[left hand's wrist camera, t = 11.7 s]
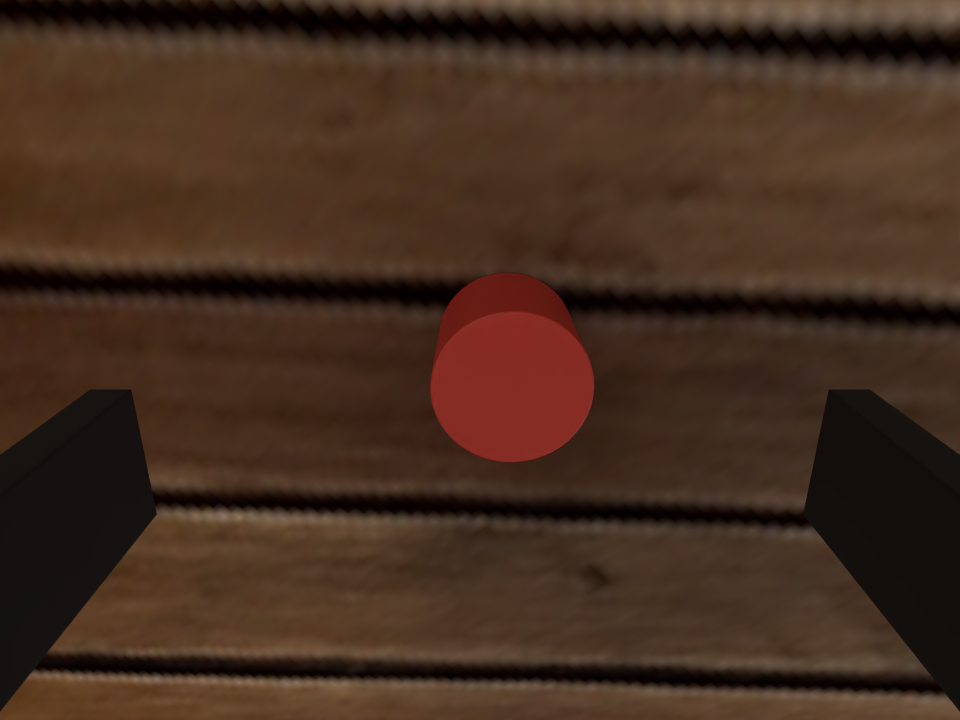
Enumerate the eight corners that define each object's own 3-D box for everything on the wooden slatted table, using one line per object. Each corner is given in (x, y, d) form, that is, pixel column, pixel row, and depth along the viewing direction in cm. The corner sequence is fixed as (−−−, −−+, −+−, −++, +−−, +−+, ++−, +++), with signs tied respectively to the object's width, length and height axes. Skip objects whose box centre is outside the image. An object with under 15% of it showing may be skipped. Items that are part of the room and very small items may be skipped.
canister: (443, 401, 24) (436, 466, 20) (434, 275, 23) (423, 315, 18) (573, 395, 24) (593, 459, 20) (572, 268, 23) (595, 307, 18)
